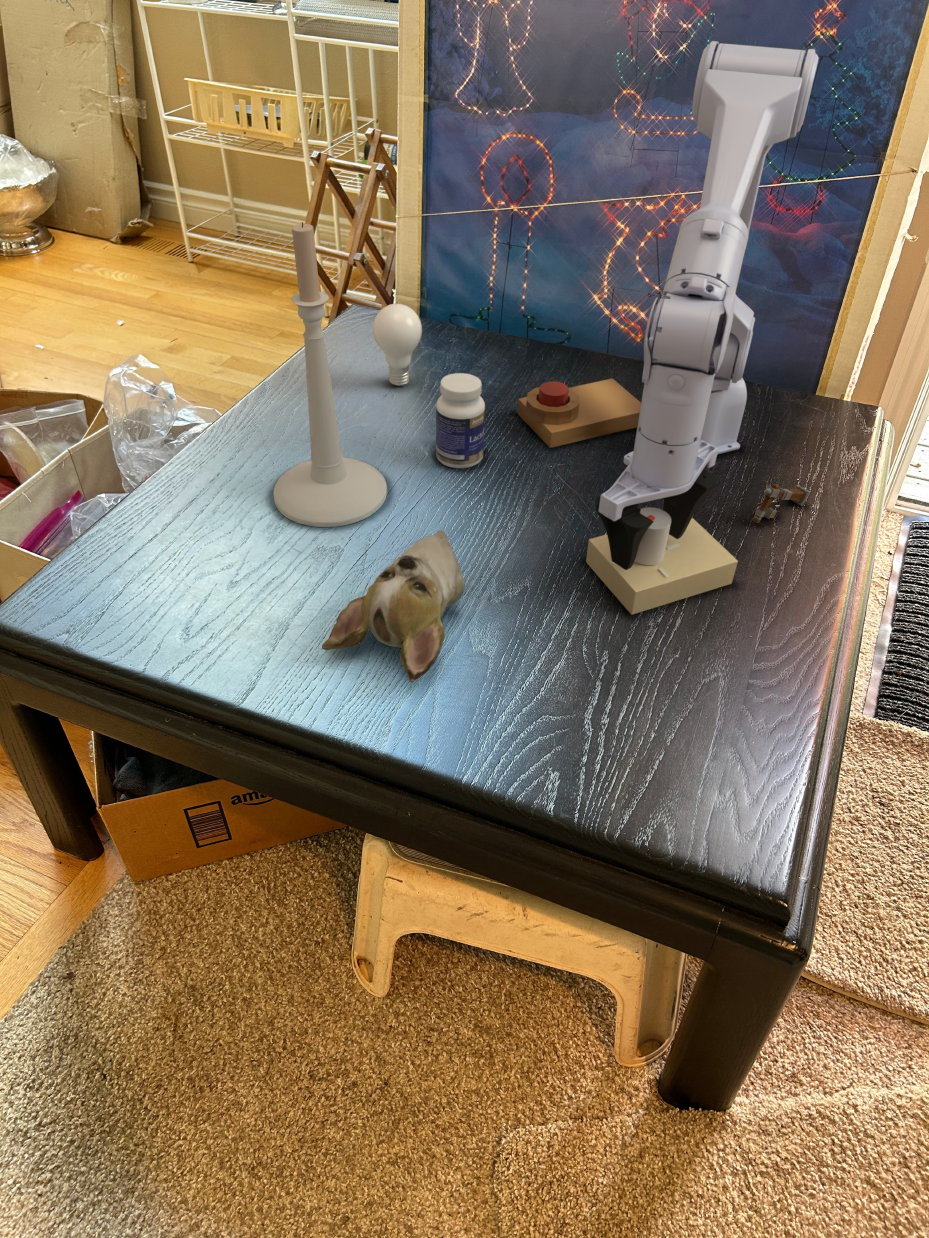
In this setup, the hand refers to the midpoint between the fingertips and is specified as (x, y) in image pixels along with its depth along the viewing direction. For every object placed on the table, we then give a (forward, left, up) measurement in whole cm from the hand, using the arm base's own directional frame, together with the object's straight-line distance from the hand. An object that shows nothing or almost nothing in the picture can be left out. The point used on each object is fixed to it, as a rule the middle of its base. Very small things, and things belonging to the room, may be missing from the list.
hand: (646, 548), depth 90 cm
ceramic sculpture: (+25, -2, -4) cm, 25 cm away
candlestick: (+25, -27, -4) cm, 37 cm away
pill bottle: (+8, -28, -4) cm, 29 cm away
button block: (-10, -30, -4) cm, 32 cm away
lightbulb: (+8, -48, -4) cm, 48 cm away
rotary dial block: (-2, 0, -4) cm, 4 cm away
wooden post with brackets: (-20, -3, -4) cm, 21 cm away
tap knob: (0, 0, -1) cm, 1 cm away
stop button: (-5, -30, 0) cm, 30 cm away
